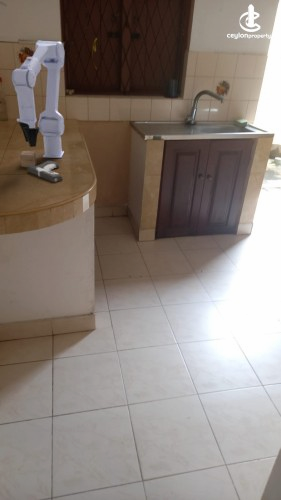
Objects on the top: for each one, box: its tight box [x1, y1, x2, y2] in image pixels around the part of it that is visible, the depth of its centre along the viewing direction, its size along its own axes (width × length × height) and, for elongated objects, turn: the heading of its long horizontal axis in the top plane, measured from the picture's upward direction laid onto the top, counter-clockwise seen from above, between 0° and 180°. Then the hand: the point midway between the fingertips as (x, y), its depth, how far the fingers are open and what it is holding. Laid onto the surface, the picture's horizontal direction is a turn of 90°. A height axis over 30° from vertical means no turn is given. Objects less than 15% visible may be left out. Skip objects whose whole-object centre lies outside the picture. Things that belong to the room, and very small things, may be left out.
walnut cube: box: [19, 150, 37, 168], centre depth 141 cm, size 5×5×5 cm
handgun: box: [26, 160, 63, 183], centre depth 135 cm, size 2×18×12 cm
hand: (30, 143), depth 135 cm, fingers open, 7 cm apart
